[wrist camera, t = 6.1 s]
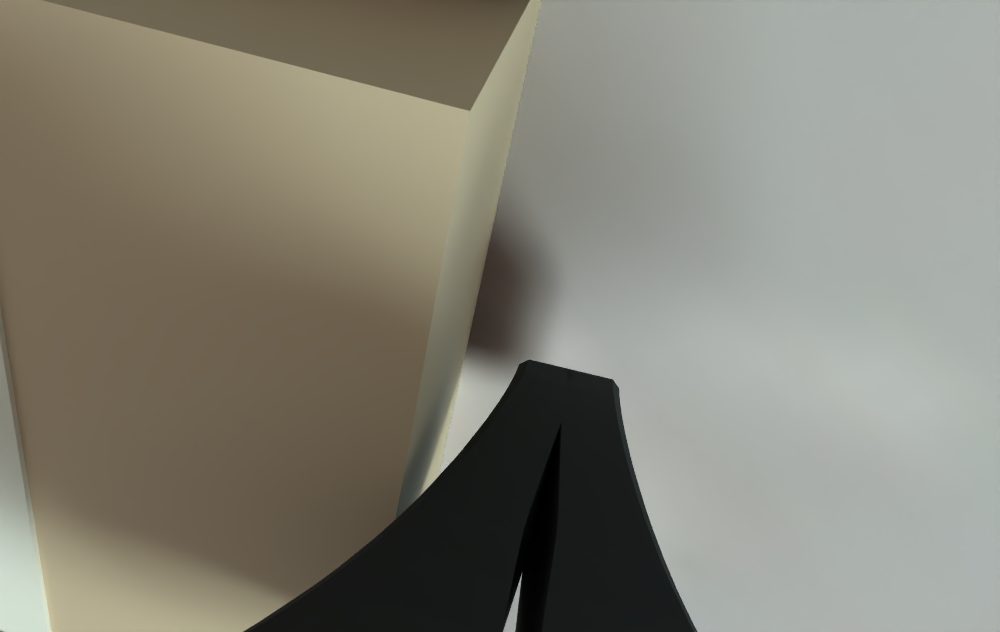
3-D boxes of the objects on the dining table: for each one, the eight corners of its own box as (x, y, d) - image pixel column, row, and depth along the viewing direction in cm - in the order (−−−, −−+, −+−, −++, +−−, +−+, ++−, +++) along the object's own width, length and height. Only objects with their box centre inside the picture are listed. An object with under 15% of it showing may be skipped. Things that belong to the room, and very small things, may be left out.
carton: (437, 488, 16) (356, 732, 13) (-163, 323, 17) (-412, 511, 13) (551, -39, 11) (467, 115, 7) (-332, -261, 11) (-831, -222, 8)
